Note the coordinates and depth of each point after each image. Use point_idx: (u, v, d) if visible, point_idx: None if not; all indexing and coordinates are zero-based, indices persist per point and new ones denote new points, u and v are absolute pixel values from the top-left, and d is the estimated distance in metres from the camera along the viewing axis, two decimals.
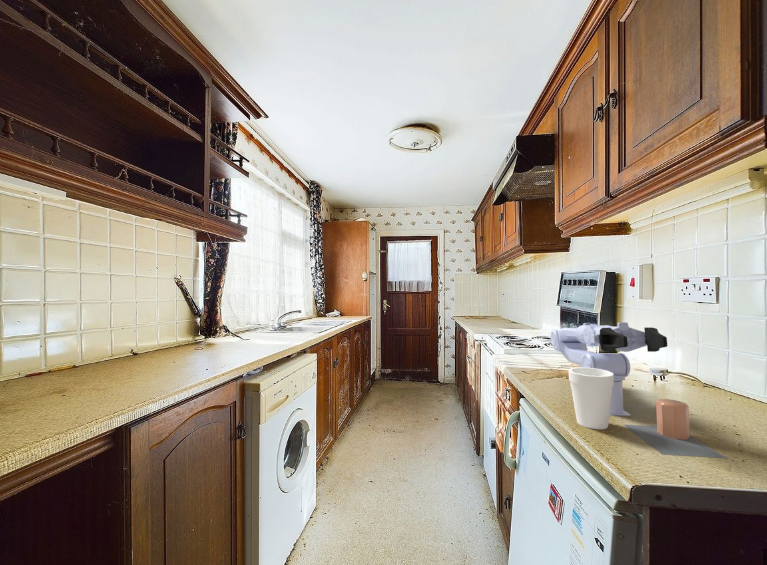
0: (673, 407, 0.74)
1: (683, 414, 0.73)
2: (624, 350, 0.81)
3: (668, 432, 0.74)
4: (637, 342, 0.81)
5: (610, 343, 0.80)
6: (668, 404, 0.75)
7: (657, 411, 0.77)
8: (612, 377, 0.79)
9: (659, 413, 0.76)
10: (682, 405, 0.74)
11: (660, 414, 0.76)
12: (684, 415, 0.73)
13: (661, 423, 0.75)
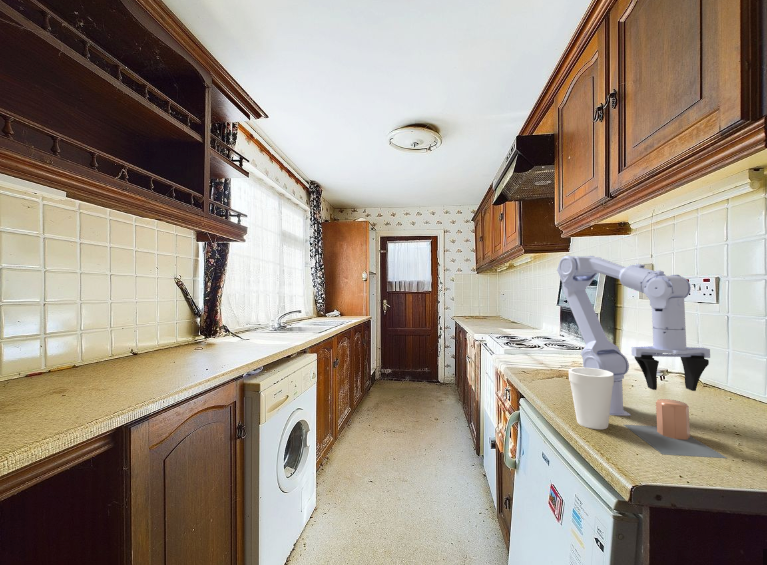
0: (673, 407, 0.74)
1: (683, 414, 0.73)
2: None
3: (668, 432, 0.74)
4: None
5: None
6: (668, 404, 0.75)
7: (657, 411, 0.77)
8: (612, 377, 0.79)
9: (659, 413, 0.76)
10: (682, 405, 0.74)
11: (660, 414, 0.76)
12: (684, 415, 0.73)
13: (661, 423, 0.75)
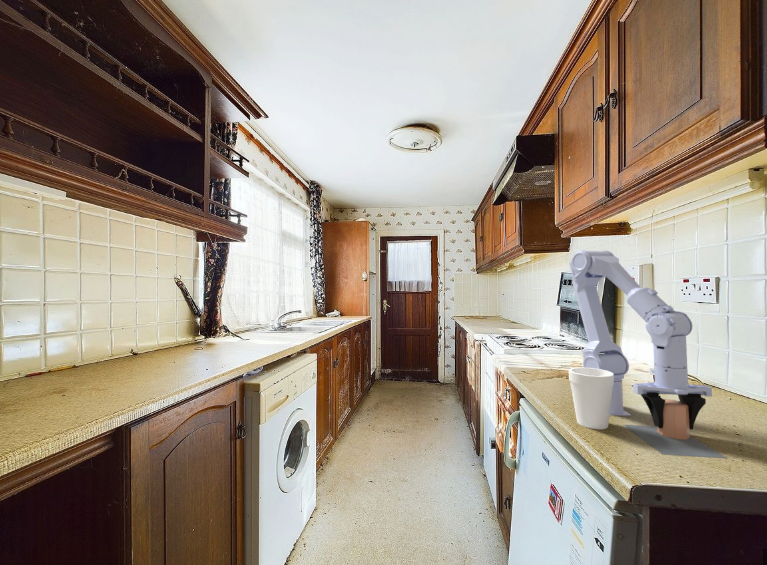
0: (673, 407, 0.74)
1: (683, 414, 0.73)
2: None
3: (668, 432, 0.74)
4: None
5: None
6: (668, 404, 0.75)
7: None
8: (612, 377, 0.79)
9: None
10: (682, 405, 0.74)
11: None
12: (684, 415, 0.73)
13: None
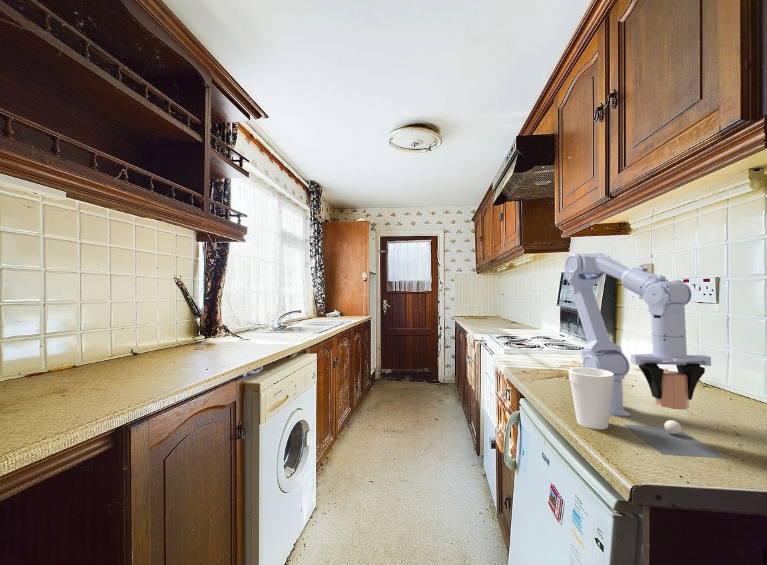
0: (671, 376, 0.72)
1: (682, 383, 0.71)
2: None
3: (667, 402, 0.72)
4: None
5: None
6: (667, 374, 0.73)
7: None
8: (612, 377, 0.79)
9: None
10: (681, 375, 0.72)
11: None
12: (683, 384, 0.71)
13: None
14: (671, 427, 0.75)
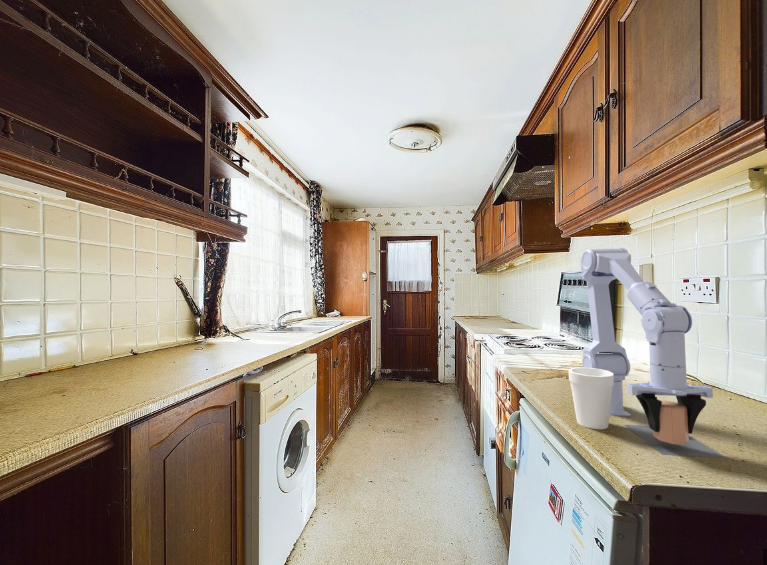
0: (670, 409, 0.68)
1: (681, 417, 0.67)
2: None
3: (665, 436, 0.68)
4: None
5: None
6: (665, 406, 0.69)
7: None
8: (612, 377, 0.79)
9: None
10: (680, 407, 0.68)
11: None
12: (682, 418, 0.67)
13: None
14: None
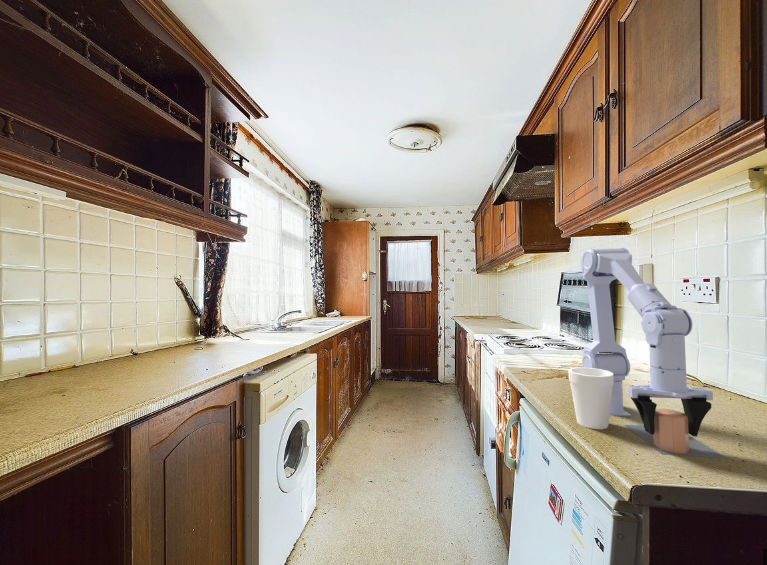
0: (670, 418, 0.68)
1: (682, 426, 0.67)
2: None
3: (666, 445, 0.68)
4: None
5: None
6: (665, 415, 0.69)
7: None
8: (612, 377, 0.79)
9: (656, 424, 0.70)
10: (681, 416, 0.68)
11: (657, 425, 0.70)
12: (683, 427, 0.67)
13: (658, 435, 0.69)
14: None
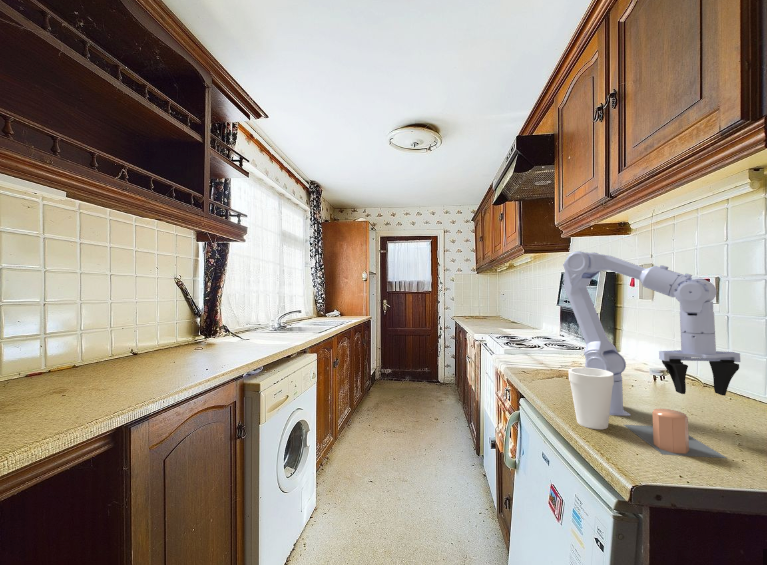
0: (670, 418, 0.68)
1: (682, 426, 0.67)
2: None
3: (666, 445, 0.68)
4: None
5: None
6: (665, 415, 0.69)
7: (653, 422, 0.71)
8: (612, 377, 0.79)
9: (656, 424, 0.70)
10: (681, 416, 0.68)
11: (657, 425, 0.70)
12: (683, 427, 0.67)
13: (658, 435, 0.69)
14: None
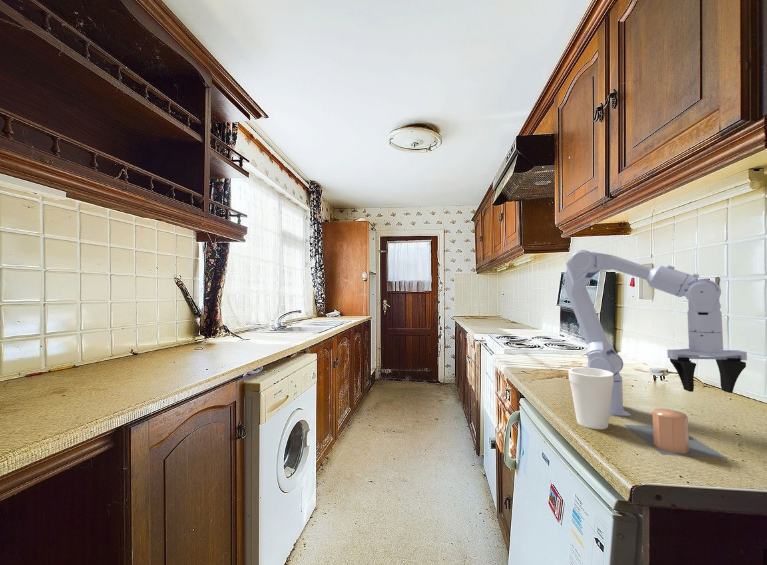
0: (670, 418, 0.68)
1: (682, 426, 0.67)
2: None
3: (666, 445, 0.68)
4: None
5: None
6: (665, 415, 0.69)
7: (653, 422, 0.71)
8: (612, 377, 0.79)
9: (656, 424, 0.70)
10: (681, 416, 0.68)
11: (657, 425, 0.70)
12: (683, 427, 0.67)
13: (658, 435, 0.69)
14: None
